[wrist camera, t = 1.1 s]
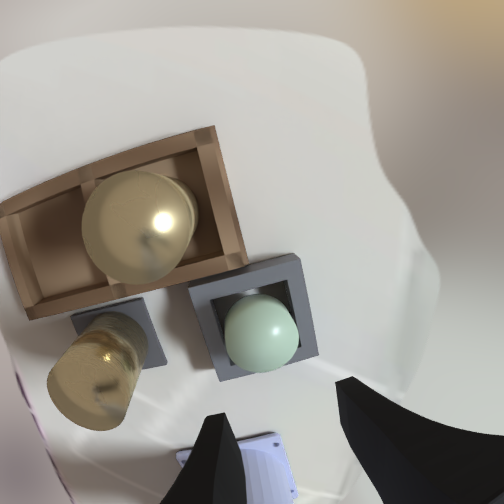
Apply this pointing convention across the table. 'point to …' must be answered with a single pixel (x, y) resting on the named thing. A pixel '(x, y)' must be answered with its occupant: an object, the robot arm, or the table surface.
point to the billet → (99, 372)
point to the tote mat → (140, 315)
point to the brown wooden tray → (70, 226)
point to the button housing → (247, 279)
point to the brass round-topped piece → (139, 225)
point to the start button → (260, 333)
